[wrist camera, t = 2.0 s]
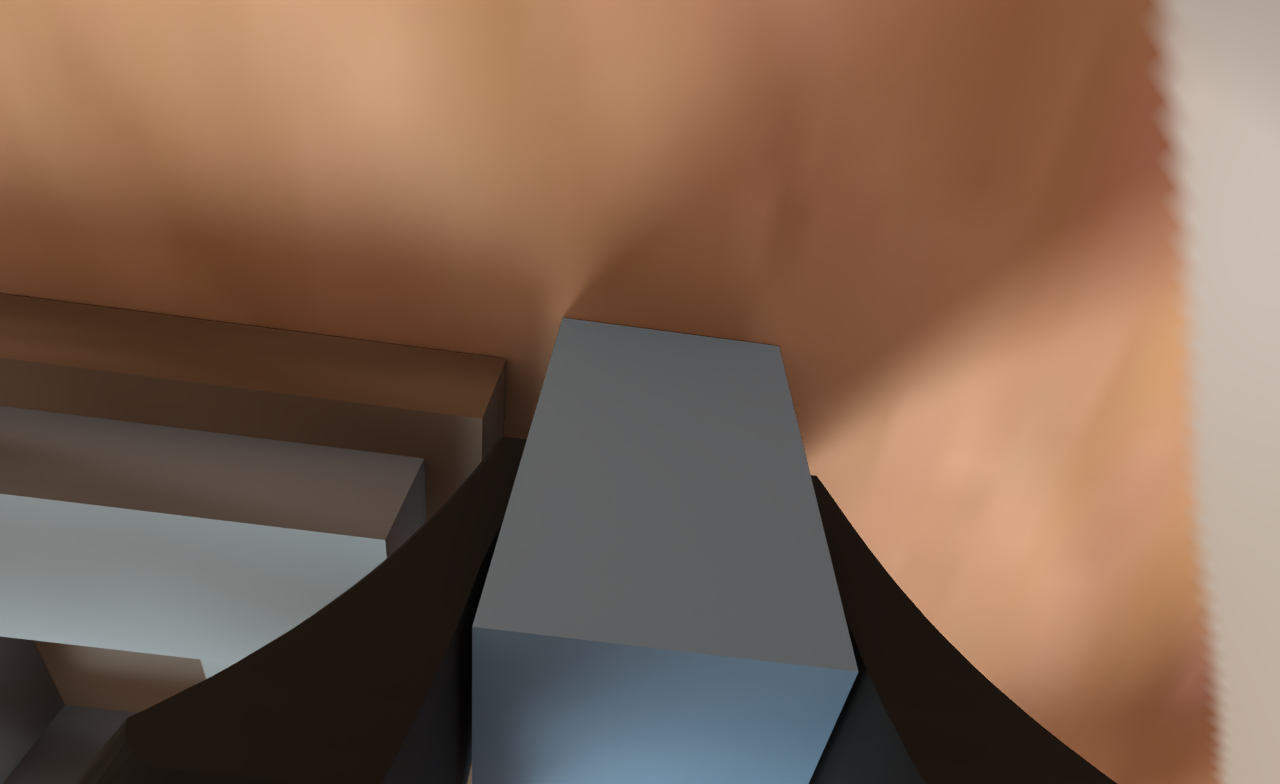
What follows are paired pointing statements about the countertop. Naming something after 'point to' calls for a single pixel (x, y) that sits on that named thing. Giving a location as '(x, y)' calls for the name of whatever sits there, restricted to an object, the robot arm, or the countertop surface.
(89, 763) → the robot arm
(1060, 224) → the countertop surface
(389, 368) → the socket block
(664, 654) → the blue peg
